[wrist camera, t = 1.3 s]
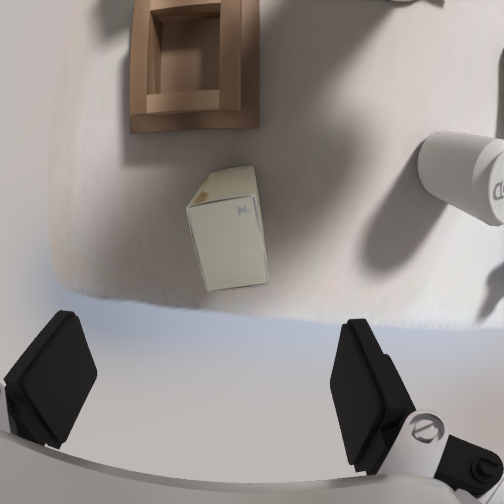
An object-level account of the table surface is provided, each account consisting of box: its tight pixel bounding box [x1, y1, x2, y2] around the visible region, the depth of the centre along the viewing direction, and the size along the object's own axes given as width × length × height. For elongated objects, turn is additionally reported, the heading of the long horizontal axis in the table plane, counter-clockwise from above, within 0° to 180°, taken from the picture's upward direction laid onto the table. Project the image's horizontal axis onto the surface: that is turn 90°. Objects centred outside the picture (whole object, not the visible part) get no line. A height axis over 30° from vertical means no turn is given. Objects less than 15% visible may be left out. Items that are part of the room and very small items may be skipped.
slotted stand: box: [130, 0, 259, 134], centre depth 22 cm, size 12×14×6 cm
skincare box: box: [186, 165, 269, 292], centre depth 25 cm, size 6×4×12 cm
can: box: [417, 131, 504, 226], centre depth 23 cm, size 8×8×12 cm
